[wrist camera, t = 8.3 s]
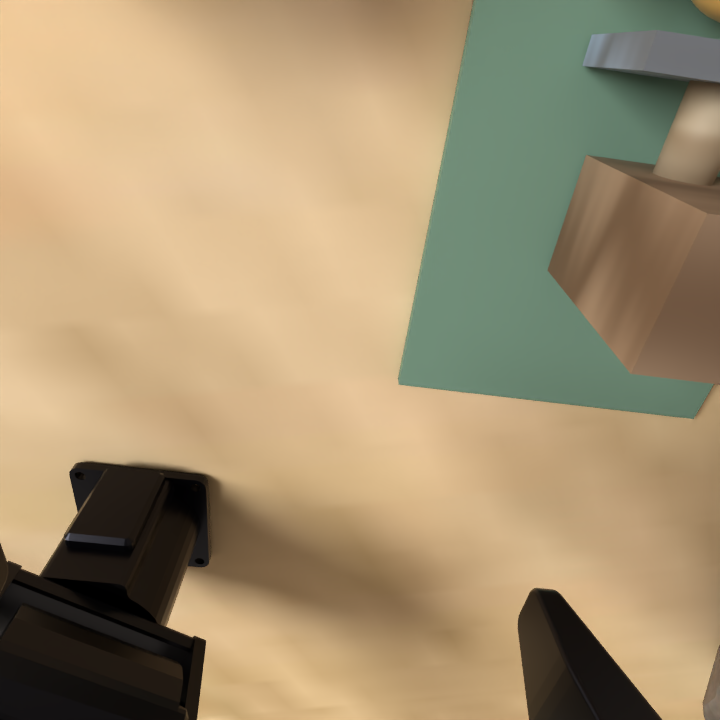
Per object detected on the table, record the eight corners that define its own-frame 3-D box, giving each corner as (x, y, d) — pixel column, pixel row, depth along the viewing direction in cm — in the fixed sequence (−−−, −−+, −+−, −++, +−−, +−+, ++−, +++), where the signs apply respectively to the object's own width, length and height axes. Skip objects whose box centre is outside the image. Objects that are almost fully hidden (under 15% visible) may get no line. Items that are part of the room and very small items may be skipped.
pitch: (687, 412, 23) (693, 418, 22) (398, 378, 22) (398, 384, 22) (1098, -305, 12) (1125, -319, 12) (556, -414, 11) (564, -433, 11)
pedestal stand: (678, 287, 19) (820, 396, 13) (520, 266, 19) (592, 369, 13) (787, 64, 15) (1055, 74, 9) (591, 34, 15) (740, 23, 9)
